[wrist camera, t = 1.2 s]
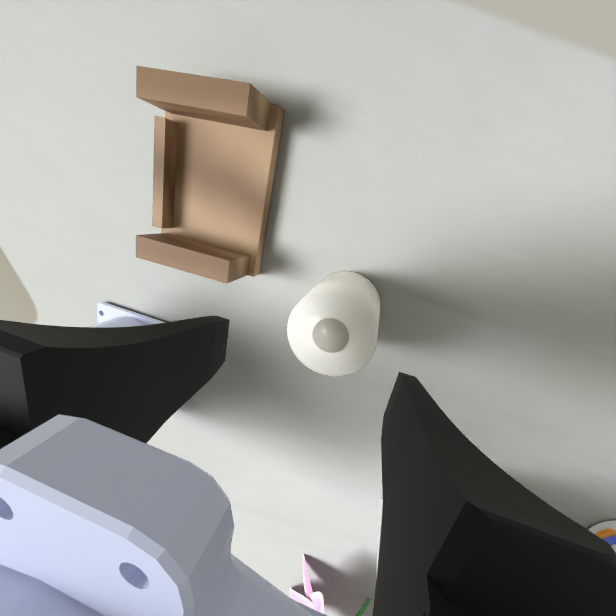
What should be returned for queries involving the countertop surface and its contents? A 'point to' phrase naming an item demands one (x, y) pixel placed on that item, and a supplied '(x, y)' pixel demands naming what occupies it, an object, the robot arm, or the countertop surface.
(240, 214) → the holder
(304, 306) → the paper roll
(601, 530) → the pill bottle
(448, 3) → the countertop surface
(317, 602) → the lily
